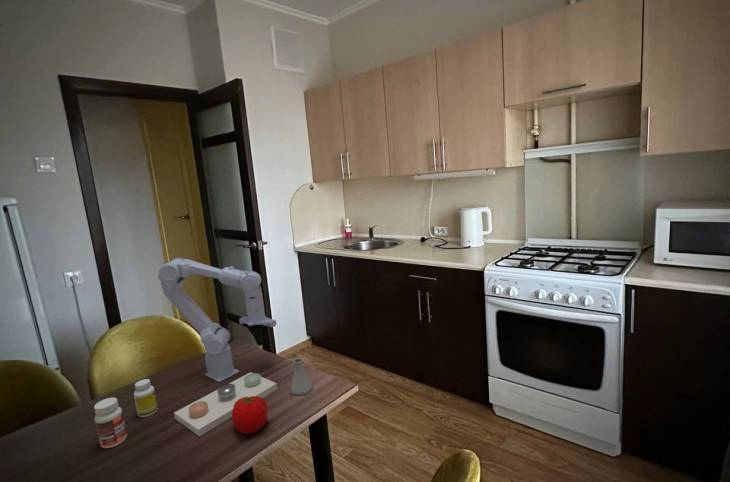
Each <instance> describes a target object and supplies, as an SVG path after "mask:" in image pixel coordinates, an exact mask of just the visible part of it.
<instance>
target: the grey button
mask: <svg viewBox="0 0 730 482" xmlns="http://www.w3.org/2000/svg"><path fill="white" fill-rule="evenodd" d="M216 390H217V391H218V397H219V398H228V397H230V396H232V395H234V394H235V392H236V390H235V385H234V384H229V383H225V384H223V385H221V386H219V387H218V388H217V389H216Z"/></svg>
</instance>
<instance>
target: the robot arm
mask: <svg viewBox="0 0 730 482" xmlns="http://www.w3.org/2000/svg"><path fill="white" fill-rule="evenodd" d="M192 275H196V276H202V277H205V278H206V277H207V278H212V279H217V280H218V281H219V282H220V283H221V284H222V285H225V286H230V287H231V286H232V287H235V288H238V289H242V290H243V291H244V300H245V306H246V307H245V308H246V312H247V316H241V317H240V318H238V322H239V325H243V324H247V326H248V327H247V330H248V331H249V332H250V335H252V336H253V339H254V341H255V343H256V345H257V346H262V345H263V344H264V343H265V337H266V332H267V330H268V327H270V328H274V327H276V326H277V319H272V318H270V317H267V316H266V312H265V311H266V310H265V304H264V298H263V292H262V287H261V284H262V277H261V274H259V273H258V272H256V271H253V270H251V271H249V270H241V269H236V268H235V267H234V266H229V267H228V266H226V267H223V268H218V267H215V266H211V265H208V264H205V263H201V262H198V261H195V260H193V259H188V258H183V257H176V258H174V259H172V260H171V261H168V262H166V263H163V264H162V265H161V267H160V268H159V270H158V276H157V279H158V280H159V281H160V285H161V289H162V292H163V295H164V296H165V297H166V298H167V299H168V300H169V302H170V303H171V304H172V305H173V307H175V309H176V310H177V311H178V312H179V313H180V314H181V315H182V316H183V317H184V318H185V319H186V320H187V321H188V322H189V323H190V325H191V326H192V327H193V328H194V329H195V330H196V331H197V332H198V334H199V337H200V342H201V343H202V344H203V346H204V349H205V351H206V353H205V355H204V361H205V366H206V373H205V374H204V376H205V377H208V378H210V379H212V380H214V381H216V382H217V383H221V382H223V381H224V380H226V379H229V378H231V377H232V376H235V375H236V374H238V373H240V370H239V369H236V368H234V363H233V356H232V350H231V345H230V344H229V341H230V340H231V333H230V331H229V330H228V329H227V328H225V327H222V326H221V325H220V324H219V323H217V322H213V321H212V320H211V318H210V317H209V316H208V315H206V312H204V311H203V309H201V308H200V306H199V305H198V304H197V303H196V302H195V301H194V300H193V299H192V297H191V296H190V295H189V294H188V293H187V292H186V290H184V288H183V287H184V286H183V285H184V280H185V278H186V277H189V276H192Z"/></svg>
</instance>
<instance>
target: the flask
mask: <svg viewBox="0 0 730 482" xmlns="http://www.w3.org/2000/svg"><path fill="white" fill-rule="evenodd" d="M303 363H304V358H303V357H296V358H294V359H293V360H292V364H293V365H294V366H293V367H294V369H293V376H292V381H291V384H290V385H291V386H290V395H294V396H302V395H307V394H309V393H310V392H311V391H312V390H313V383H312V381H311V379H310V378H309V376H308V374H307V372H306V370H305V368H304V364H303Z"/></svg>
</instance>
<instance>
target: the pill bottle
mask: <svg viewBox="0 0 730 482" xmlns="http://www.w3.org/2000/svg"><path fill="white" fill-rule="evenodd" d="M93 408H94V414H95V416H94V424H95V427H96V433H97V435H98V436H97V437H98V439H99V445H100V447H101V448H102V449H109V448H111V449H112V448H114V447H116V446H118V445H121V444H122V443H123V442H124V441H125V440H126V439H127V437H128V431H127V427H126V424H125V419H124V413H123V410H122V408H121V407H120V406H119V402H118V398H116V397H107V398H105V399H102V400H100V401H98V402H96V403H95V405H94V407H93Z"/></svg>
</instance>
